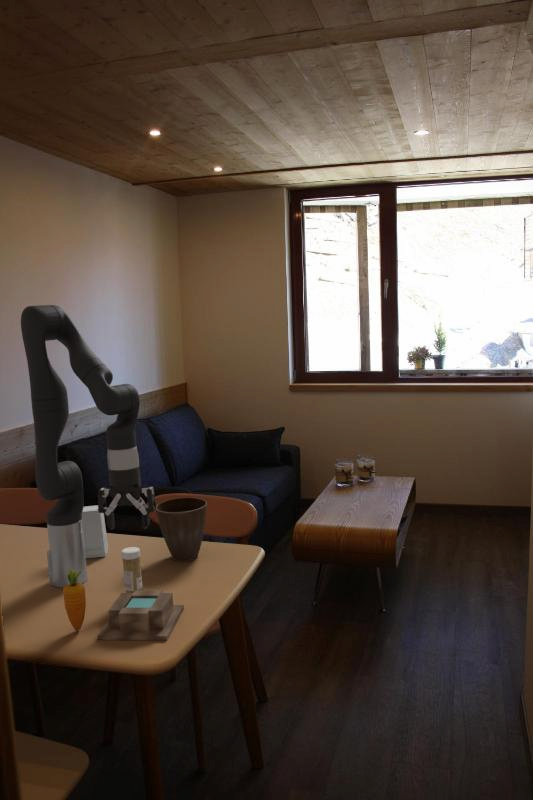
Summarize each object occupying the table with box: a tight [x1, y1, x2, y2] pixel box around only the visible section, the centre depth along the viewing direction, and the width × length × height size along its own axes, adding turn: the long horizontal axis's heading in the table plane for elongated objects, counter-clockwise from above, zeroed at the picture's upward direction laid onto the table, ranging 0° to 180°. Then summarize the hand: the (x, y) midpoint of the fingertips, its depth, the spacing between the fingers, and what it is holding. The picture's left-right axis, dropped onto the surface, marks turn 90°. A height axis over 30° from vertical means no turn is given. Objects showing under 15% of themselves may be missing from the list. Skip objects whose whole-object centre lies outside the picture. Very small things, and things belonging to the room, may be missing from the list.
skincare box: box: [82, 504, 109, 559], centre depth 211 cm, size 8×6×15 cm
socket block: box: [97, 589, 185, 641], centre depth 163 cm, size 16×16×6 cm
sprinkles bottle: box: [121, 546, 143, 593], centre depth 176 cm, size 5×5×14 cm
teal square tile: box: [126, 598, 157, 608], centre depth 163 cm, size 6×6×1 cm
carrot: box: [62, 569, 87, 632], centre depth 161 cm, size 5×5×15 cm
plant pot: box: [155, 497, 208, 562], centre depth 205 cm, size 15×15×16 cm
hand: (128, 528), depth 175 cm, fingers open, 8 cm apart
